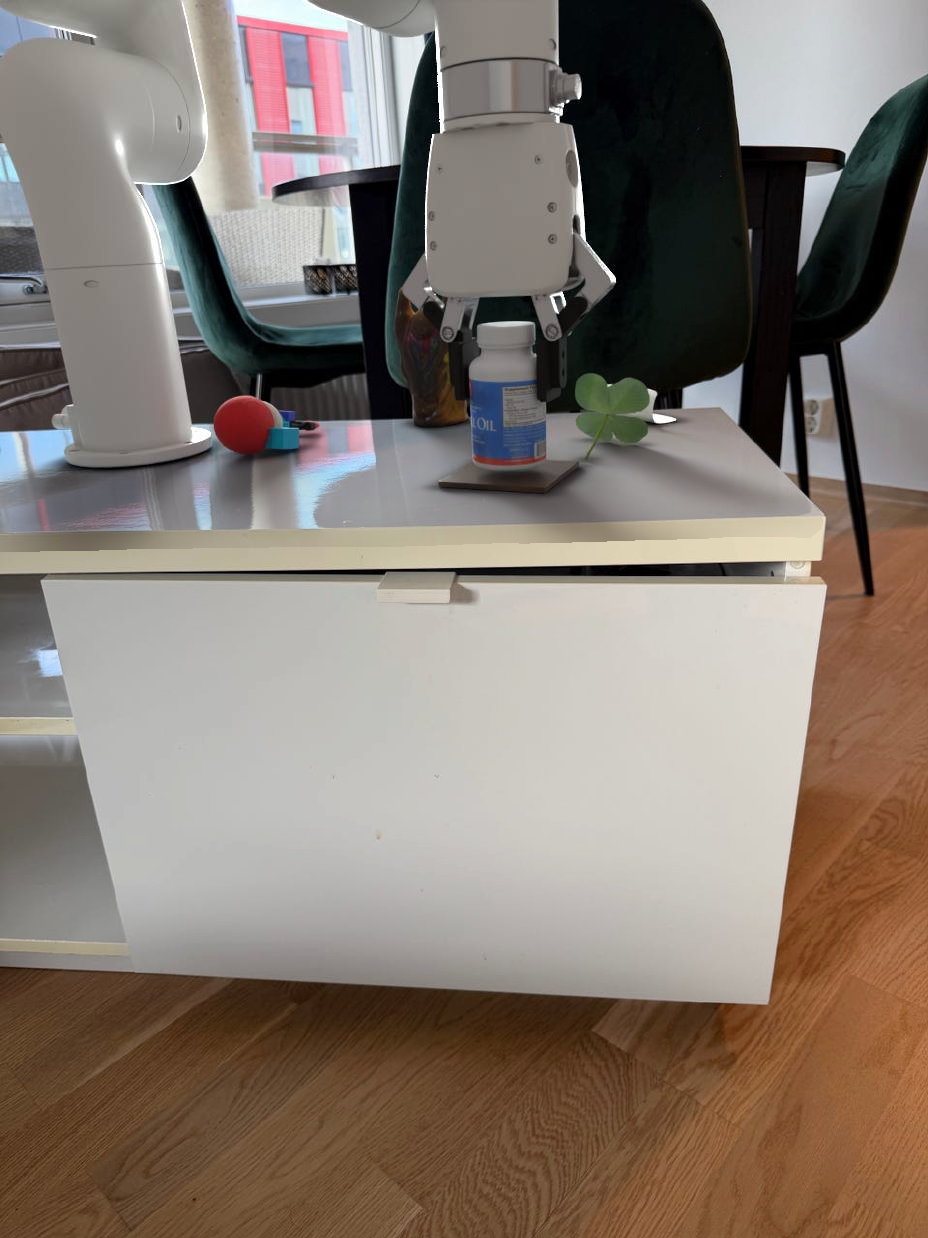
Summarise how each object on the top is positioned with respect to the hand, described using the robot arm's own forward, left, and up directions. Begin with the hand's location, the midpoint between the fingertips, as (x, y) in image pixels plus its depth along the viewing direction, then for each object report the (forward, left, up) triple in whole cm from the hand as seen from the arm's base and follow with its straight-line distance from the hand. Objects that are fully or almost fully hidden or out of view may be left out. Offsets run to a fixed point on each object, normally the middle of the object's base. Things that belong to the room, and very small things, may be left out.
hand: (507, 395), depth 62 cm
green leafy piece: (+3, +10, -6) cm, 12 cm away
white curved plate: (+4, +25, -6) cm, 25 cm away
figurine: (-15, +20, -6) cm, 26 cm away
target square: (0, 0, -6) cm, 6 cm away
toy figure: (-26, +6, -6) cm, 27 cm away
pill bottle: (0, 0, -5) cm, 5 cm away
